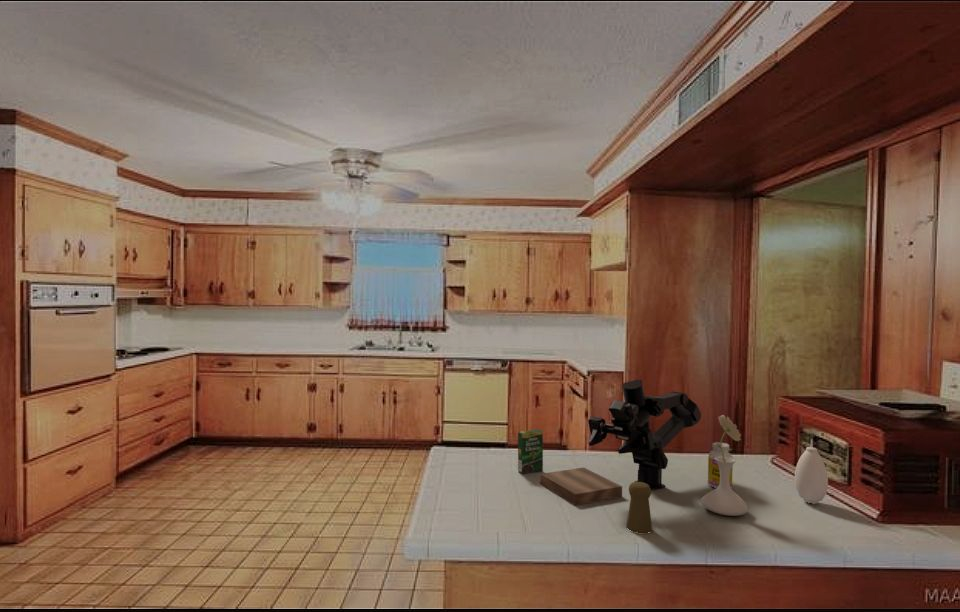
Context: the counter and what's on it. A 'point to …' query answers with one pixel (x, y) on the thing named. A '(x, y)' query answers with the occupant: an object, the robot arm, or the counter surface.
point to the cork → (639, 508)
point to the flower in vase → (725, 480)
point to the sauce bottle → (811, 476)
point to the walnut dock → (580, 485)
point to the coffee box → (530, 451)
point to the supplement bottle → (714, 467)
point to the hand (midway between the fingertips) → (603, 448)
